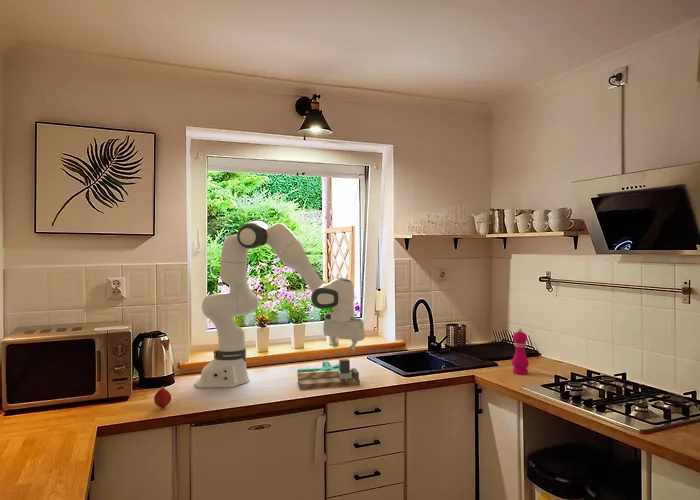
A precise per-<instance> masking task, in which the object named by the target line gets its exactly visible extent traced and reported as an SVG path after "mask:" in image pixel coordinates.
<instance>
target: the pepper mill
mask: <svg viewBox="0 0 700 500" xmlns="http://www.w3.org/2000/svg"><path fill="white" fill-rule="evenodd" d="M512 340H513V341H514V343H513V344H514V346H513V347H515V352H514V354H513V357H512V359H511V365H512V367H513V368H512V372H513V374H514V375H517V376H518V375H519V376H523V375H524V376H525V375H528V373H529V371H528V370H529V369H528V367H529V365H530V363H529V359H528V357H527V353H526V347H527V341H528V336H527V334H526V333H525V332H523V329H522V328H520V327H518V329H517V331H516V332H515V333H514V334H513V335H512Z"/></svg>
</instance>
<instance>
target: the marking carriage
mask: <svg viewBox="0 0 700 500" xmlns="http://www.w3.org/2000/svg"><path fill="white" fill-rule="evenodd" d="M338 364H339V370H338V377H339V379H340V380H343V379H353V376H352V373H351V372H350V369H351V367H350V366H351V364H350V359H349V358H346V359H345V358H343V359H338Z"/></svg>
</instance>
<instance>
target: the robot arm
mask: <svg viewBox="0 0 700 500" xmlns="http://www.w3.org/2000/svg"><path fill="white" fill-rule="evenodd" d="M222 243H223V244H222V248H221V253H220V265H219V277H220V281H222V282H223V283H225V284H227V285H229V291H226V292H216V293H212V294H209V295H207V296H205V297H204V298H203V301H202V303H201V310H202V313H203V315H204V317H206V318H207V319H209V320H210V321H211V322H212V323H213V325H214V326H215V329H216V332H217V339H218V349H217V348H215V349H214V350H213V351H212V352H213V359H212V360H211V361H210V362H208V363H207V364H206V365H205V366H204V367H203V368H202V369H201V370H202V371H201V372H200V373H201V374H200V377H199V378H198V379H196V380H195V387H197V388H199V389H201V388H202V389H203V388H205V389H207V388H208V389H210V388H211V389H212V388H234V387H237V386H240V385H243V384H246V383H248V382H249V381H250V377H249V375H248V371H247V364H246V363H247V362H246V361H247V349H246V347H245V345H246V344H245V343H246V342H245V337H246V335H245V331H244V328H242V327H241V326H240V325H239V326H238V325H236V324H235V322H234V318H235V317H242V316H243V317H244V316H248V315H250V314H253V313H255V312H256V311H257V310H258V308H259V298H258V296H257V294H256V293H255V292H254V291H252V290H251V288H250V286H249V283H248V279H247V267H248V253H249V251H250V250H251V249H252V250H253V249H256V248H259V247H262V246H265V245H266V246H269V247H270V248H271V250H273V252H274V253H275V255H276V256H277V258H278V259H279V260H280V261H281V262H282V263H283V264H284V265H285V266H286V267H287V268H289V269H292V270H294V271H295V272H296V273H297V274H299V276H301V278H302V279H303V281H304V282H305V283H306V284H307V286H308V287H309V289H310V291H311V296H310V297H311V298H310V299H311V302H312V304H313V306H314V307H315V308H316V309H320V310H325V309H330V308H333V310H332V311H331V312H328V313H325V314H323V319H324V321H323V329H322V331H323V335H324V336H327V337H329V338H330V341H331V343H332V348H338V346H339V342H337V340H336V339H337V338H338V339H345V340H350V341H351V343H352V344H351V345H349V350H350V351H355V350H356V346H357V343H358V342H361V341H364V339H365V337H366V335H365V327H364V321H363V320H362V319H361V318H360V317H358V318H357V317H355V307H354V301H355V289H354V283H353V281H352V280H351V279H348V278H345V277H344V278H343V277H335V279H333V280H332V281H329V282H328V283H327V282H326V281H324V280H323V279H322V278H321V276H320V275H319V274H318V273H317V271H316V270H315V268H314V267H313V266H312V264H311V262H310V260H309V258H308V256H307V254H306V251H305V249H304V246H303V245H302V244H301V242H300V240H299V239H298V237H296V234H294V232H293V231H292V230H291V229H290V228H289V227H288V226H287V225H285V223H282V222H277V223H274V224H272V225H271V226H270V225H269V224H268V223H267V222H266V221H263V220H261V219H260V220H252V221H249V222H246V223H244V224H243V225H241V226H240V227H239V229H238V230H237V234H231V235H228V236H226V237H225V238H224V240H223V242H222Z"/></svg>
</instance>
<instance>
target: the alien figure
mask: <svg viewBox="0 0 700 500" xmlns="http://www.w3.org/2000/svg"><path fill="white" fill-rule="evenodd" d="M330 370H339V363H337V364H334V365H331V363H330V361H327V360H325V361H322V367H319V368H315V367H313V368H305V369H303V368H298V369H297V371H296V372H297V375H298V373H299V372H315V371H330Z"/></svg>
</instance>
